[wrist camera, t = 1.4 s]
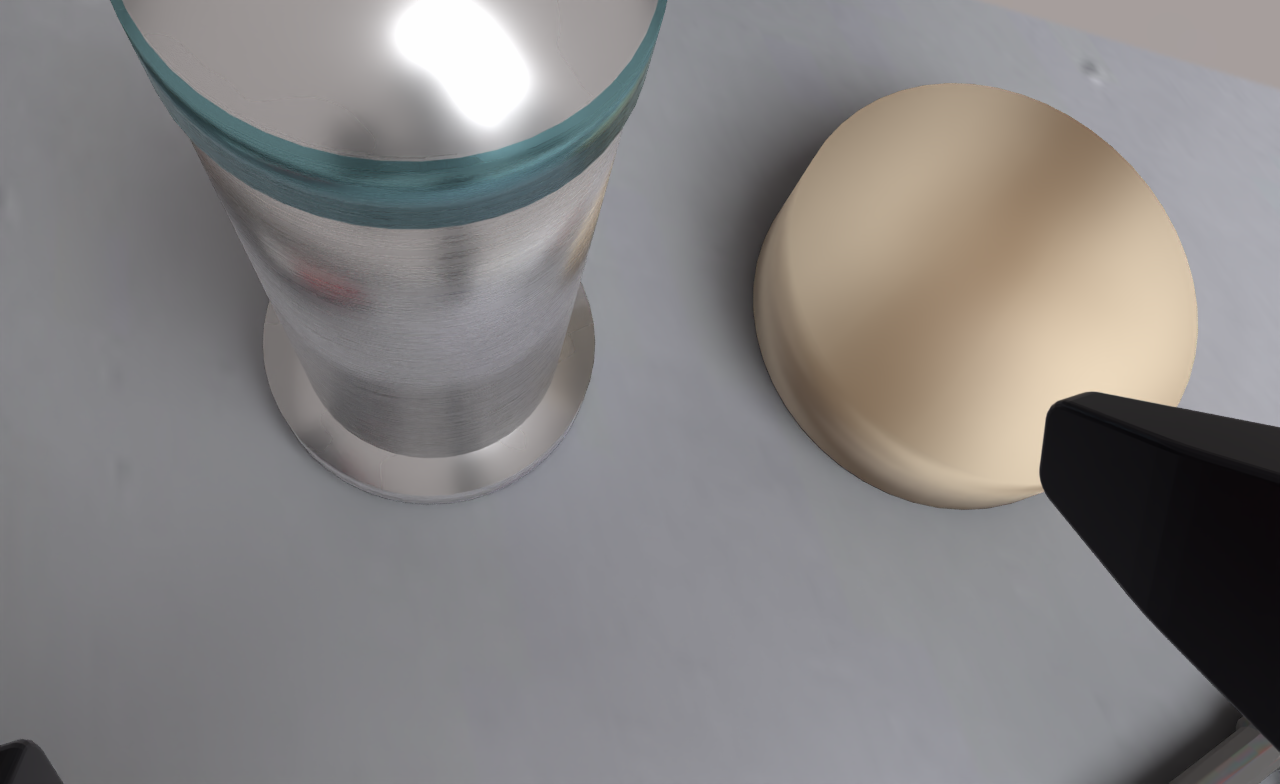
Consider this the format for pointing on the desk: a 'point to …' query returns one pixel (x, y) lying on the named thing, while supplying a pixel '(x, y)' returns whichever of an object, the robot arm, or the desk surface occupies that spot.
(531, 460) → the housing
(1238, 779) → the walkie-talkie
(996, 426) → the stand
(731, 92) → the desk surface
